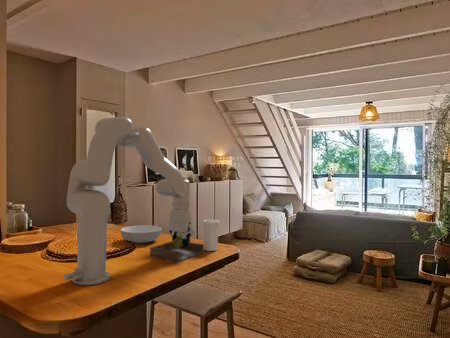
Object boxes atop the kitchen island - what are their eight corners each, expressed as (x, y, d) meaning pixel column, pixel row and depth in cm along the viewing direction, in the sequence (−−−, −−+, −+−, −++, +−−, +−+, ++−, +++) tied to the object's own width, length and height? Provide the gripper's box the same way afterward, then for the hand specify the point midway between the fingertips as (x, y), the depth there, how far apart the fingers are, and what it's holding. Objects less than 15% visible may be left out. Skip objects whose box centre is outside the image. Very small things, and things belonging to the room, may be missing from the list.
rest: (177, 262, 141) (177, 253, 141) (149, 256, 149) (150, 247, 149) (203, 253, 157) (203, 244, 157) (177, 247, 165) (177, 239, 165)
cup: (210, 247, 168) (211, 218, 168) (222, 250, 163) (223, 221, 162) (198, 249, 163) (199, 220, 162) (210, 253, 157) (211, 222, 157)
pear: (190, 233, 154) (176, 241, 146) (191, 244, 155) (177, 252, 146) (181, 232, 157) (167, 239, 148) (182, 242, 158) (168, 250, 149)
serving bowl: (149, 235, 191) (150, 223, 191) (168, 243, 175) (168, 229, 175) (114, 240, 178) (114, 227, 178) (130, 248, 162) (131, 234, 161)
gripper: (161, 205, 153) (160, 244, 153) (191, 209, 144) (190, 250, 144) (172, 204, 159) (171, 241, 160) (201, 207, 150) (200, 247, 151)
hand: (180, 245), depth 152 cm, fingers closed on pear, 5 cm apart
